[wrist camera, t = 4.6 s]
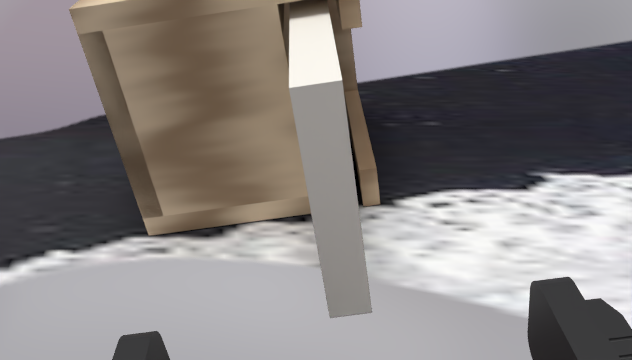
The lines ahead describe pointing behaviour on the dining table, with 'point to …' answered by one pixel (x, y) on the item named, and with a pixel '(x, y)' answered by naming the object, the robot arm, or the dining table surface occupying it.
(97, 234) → the dining table surface
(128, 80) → the box
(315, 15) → the cover plate
